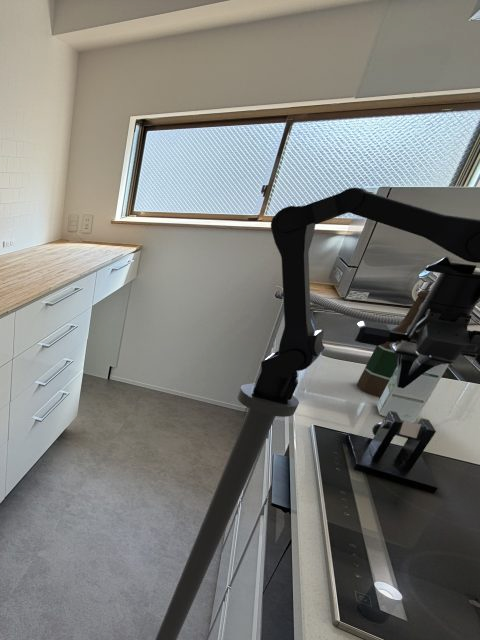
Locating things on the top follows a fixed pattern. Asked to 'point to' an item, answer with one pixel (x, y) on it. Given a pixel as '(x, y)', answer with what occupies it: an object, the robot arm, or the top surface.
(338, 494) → the top surface
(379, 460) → the black two-post stand
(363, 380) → the beer bottle
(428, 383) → the syrup box
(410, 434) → the lever
